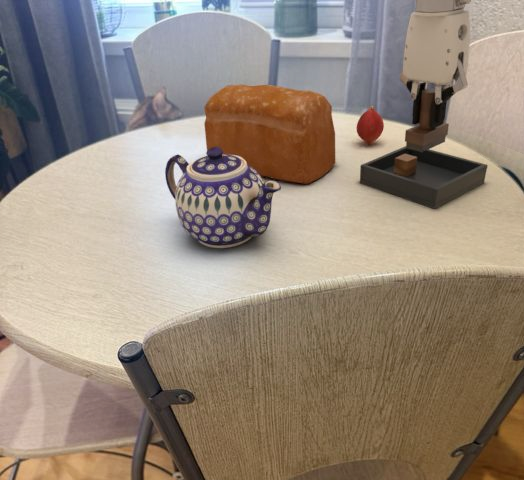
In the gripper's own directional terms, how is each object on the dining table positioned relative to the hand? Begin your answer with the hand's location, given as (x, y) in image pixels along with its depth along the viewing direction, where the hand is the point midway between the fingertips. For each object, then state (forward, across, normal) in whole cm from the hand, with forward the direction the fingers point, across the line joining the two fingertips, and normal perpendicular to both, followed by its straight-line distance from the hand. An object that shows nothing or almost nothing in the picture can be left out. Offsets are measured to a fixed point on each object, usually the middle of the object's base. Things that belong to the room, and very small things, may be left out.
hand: (427, 123), depth 94 cm
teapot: (+11, +11, +38) cm, 41 cm away
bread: (+11, +29, +13) cm, 34 cm away
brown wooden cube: (+10, +4, 0) cm, 11 cm away
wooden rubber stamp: (+4, 0, 0) cm, 4 cm away
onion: (+11, +22, -10) cm, 26 cm away
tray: (+11, 0, 0) cm, 11 cm away
